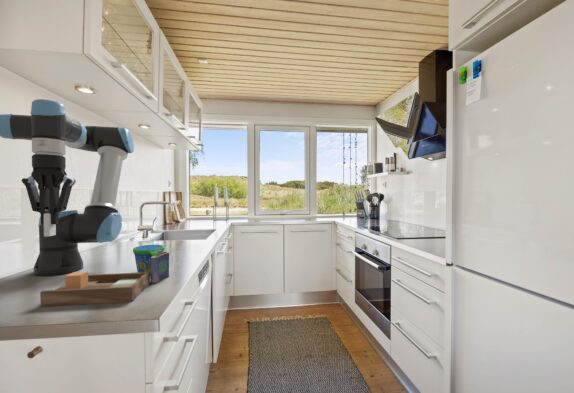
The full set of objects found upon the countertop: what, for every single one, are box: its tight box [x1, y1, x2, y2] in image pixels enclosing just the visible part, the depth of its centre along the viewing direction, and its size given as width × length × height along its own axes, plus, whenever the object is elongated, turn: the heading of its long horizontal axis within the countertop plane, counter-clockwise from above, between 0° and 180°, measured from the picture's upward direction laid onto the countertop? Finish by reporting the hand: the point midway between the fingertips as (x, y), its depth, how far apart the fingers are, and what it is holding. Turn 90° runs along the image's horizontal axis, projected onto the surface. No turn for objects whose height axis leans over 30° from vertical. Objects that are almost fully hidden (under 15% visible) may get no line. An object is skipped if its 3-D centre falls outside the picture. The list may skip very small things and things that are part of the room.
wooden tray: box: [39, 272, 151, 308], centre depth 85 cm, size 15×23×4 cm, turn 99°
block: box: [64, 271, 89, 289], centre depth 83 cm, size 4×4×4 cm
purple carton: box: [150, 249, 170, 285], centre depth 99 cm, size 9×3×11 cm, turn 172°
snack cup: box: [132, 244, 165, 277], centre depth 105 cm, size 16×10×10 cm
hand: (49, 235), depth 82 cm, fingers closed
